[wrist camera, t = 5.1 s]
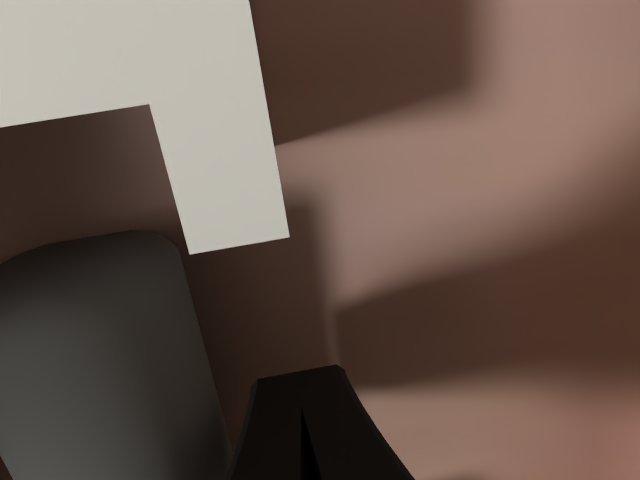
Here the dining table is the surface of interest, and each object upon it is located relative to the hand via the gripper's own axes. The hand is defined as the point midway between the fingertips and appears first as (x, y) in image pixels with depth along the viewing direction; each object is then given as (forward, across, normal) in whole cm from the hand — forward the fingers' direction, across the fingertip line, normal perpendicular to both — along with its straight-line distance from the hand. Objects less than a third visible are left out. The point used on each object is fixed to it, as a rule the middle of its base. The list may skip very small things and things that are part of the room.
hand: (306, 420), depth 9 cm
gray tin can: (-1, +4, 0) cm, 4 cm away
